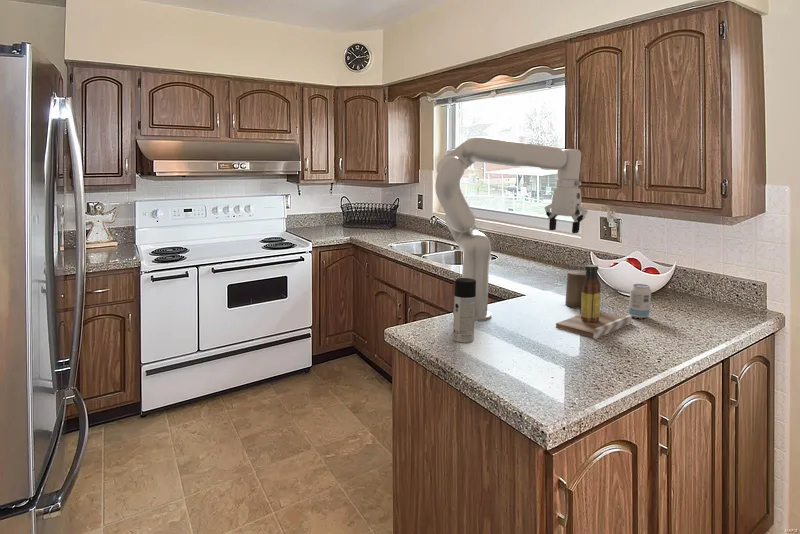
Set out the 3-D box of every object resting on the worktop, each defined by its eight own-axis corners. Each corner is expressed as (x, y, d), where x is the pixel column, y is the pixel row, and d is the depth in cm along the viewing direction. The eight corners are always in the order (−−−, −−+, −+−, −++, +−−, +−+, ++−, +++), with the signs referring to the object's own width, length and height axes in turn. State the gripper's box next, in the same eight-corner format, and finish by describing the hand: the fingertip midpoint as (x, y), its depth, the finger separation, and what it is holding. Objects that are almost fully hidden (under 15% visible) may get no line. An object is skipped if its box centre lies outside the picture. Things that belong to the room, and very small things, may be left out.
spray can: (459, 335, 166) (460, 276, 162) (477, 339, 162) (479, 279, 158) (449, 340, 160) (450, 280, 156) (468, 345, 157) (470, 283, 153)
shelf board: (596, 338, 162) (596, 329, 162) (555, 327, 174) (556, 319, 173) (630, 323, 178) (631, 315, 177) (591, 314, 189) (592, 306, 188)
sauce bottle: (597, 318, 179) (601, 264, 175) (600, 323, 173) (605, 267, 169) (578, 317, 180) (582, 263, 176) (580, 322, 174) (585, 266, 170)
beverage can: (647, 315, 188) (650, 284, 185) (649, 320, 181) (653, 288, 179) (627, 313, 190) (630, 282, 187) (629, 318, 183) (632, 287, 181)
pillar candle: (594, 308, 196) (597, 271, 193) (569, 308, 196) (571, 271, 193) (585, 302, 205) (588, 266, 203) (561, 302, 206) (564, 266, 203)
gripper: (595, 185, 175) (590, 233, 179) (553, 183, 189) (550, 228, 192) (582, 185, 171) (578, 235, 174) (541, 183, 184) (537, 229, 188)
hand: (563, 231), depth 183 cm, fingers open, 9 cm apart
